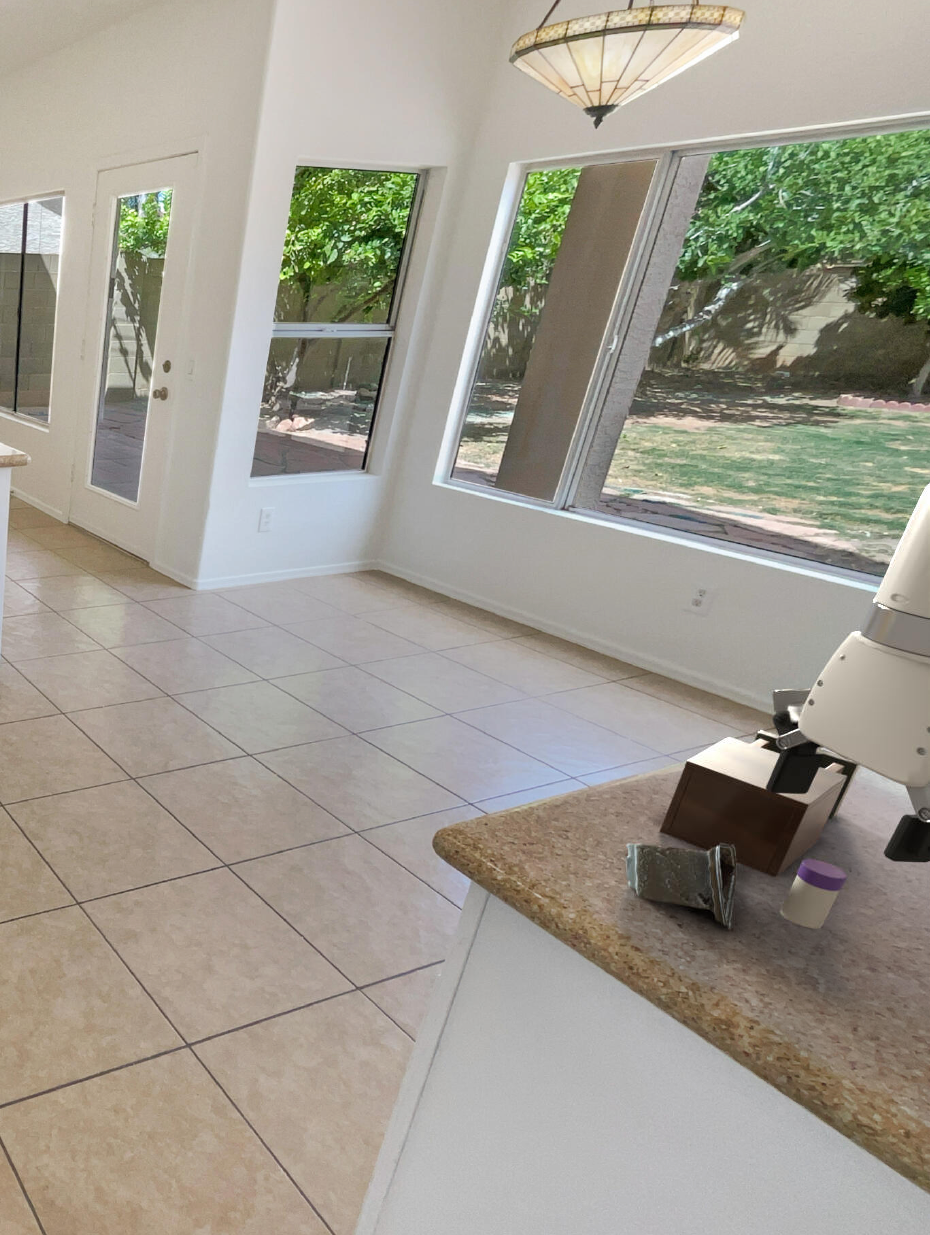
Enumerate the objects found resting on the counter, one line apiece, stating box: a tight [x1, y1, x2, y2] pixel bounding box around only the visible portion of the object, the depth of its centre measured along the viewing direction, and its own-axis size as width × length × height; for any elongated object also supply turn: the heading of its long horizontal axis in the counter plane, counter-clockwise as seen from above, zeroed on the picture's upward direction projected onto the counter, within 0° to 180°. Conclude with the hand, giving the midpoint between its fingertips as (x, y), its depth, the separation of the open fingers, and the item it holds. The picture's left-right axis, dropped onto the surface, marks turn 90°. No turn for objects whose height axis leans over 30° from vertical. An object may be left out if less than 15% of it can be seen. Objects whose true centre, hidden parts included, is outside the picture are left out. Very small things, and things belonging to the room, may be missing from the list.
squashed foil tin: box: [625, 842, 739, 930], centre depth 77 cm, size 10×7×12 cm
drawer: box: [751, 730, 861, 820], centre depth 89 cm, size 14×8×7 cm, turn 120°
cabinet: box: [659, 736, 847, 878], centre depth 84 cm, size 10×9×8 cm
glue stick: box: [779, 858, 848, 929], centre depth 73 cm, size 3×3×6 cm
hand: (841, 823), depth 70 cm, fingers open, 9 cm apart
